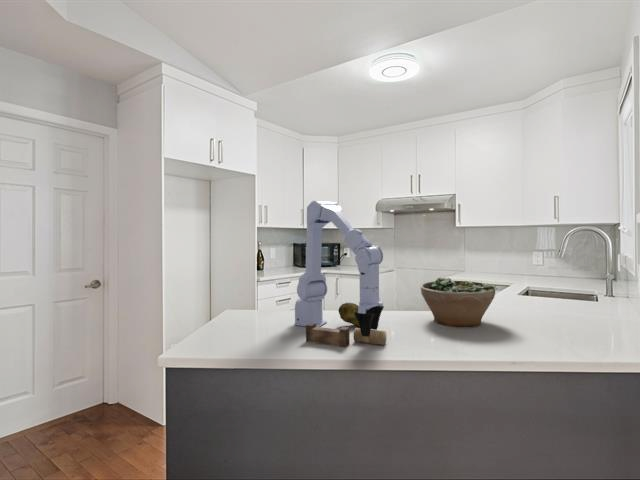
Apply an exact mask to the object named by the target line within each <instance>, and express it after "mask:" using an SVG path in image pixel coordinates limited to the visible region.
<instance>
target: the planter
mask: <svg viewBox="0 0 640 480" xmlns="http://www.w3.org/2000/svg"><path fill="white" fill-rule="evenodd" d="M496 290H498V291H499V289H498V288H497V285H494V286H493V285H492V284H489V283H484V282H481V281H468V280H467V281H466V280H452V278H450V277H447V278H446V277H442V278H441V277H438V278H437V279H436V280H435V281H429V282H425V283H424V282H423V284H421V285H420V293H421V295H422V297H423V300H424V302H425V303H426V305H427V306H428V308H429V310H430V311H431V313H432V316H433V321H434V323H436V324H437V323H438V325H441V326H445V327H449V328H459V329H461V328H463V329H470V328H471V329H472V328H478V327H480V326H482V319H483V317H484V315H485V313H486V312H487V310H488V309H489V307H490V305H491V304H492V302H493V300H494V299H495V297H496Z"/></svg>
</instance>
